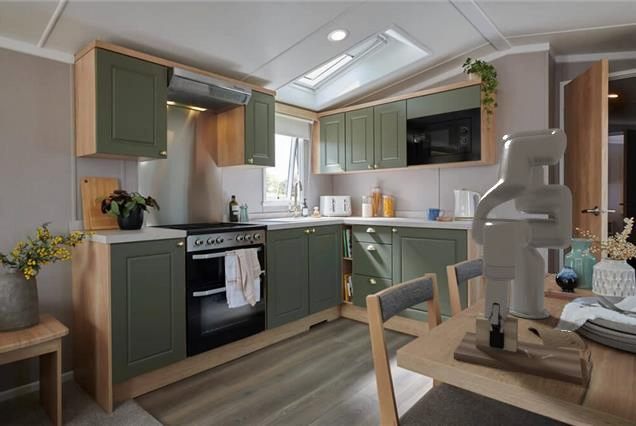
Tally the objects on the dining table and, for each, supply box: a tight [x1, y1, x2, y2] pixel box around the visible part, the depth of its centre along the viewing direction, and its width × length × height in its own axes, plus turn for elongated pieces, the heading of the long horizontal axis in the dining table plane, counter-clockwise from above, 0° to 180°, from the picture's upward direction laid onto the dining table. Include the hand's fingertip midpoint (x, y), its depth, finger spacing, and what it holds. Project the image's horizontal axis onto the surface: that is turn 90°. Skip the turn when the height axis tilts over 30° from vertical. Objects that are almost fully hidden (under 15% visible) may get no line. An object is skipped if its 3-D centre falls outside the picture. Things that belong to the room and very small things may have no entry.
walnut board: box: [453, 331, 583, 386], centre depth 95 cm, size 16×26×2 cm, turn 58°
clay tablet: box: [527, 326, 587, 350], centre depth 106 cm, size 14×10×3 cm
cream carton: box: [475, 312, 519, 355], centre depth 97 cm, size 5×9×8 cm, turn 59°
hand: (498, 342), depth 97 cm, fingers closed on cream carton, 5 cm apart
